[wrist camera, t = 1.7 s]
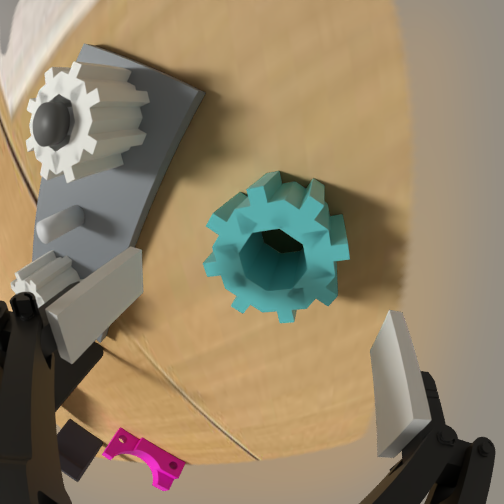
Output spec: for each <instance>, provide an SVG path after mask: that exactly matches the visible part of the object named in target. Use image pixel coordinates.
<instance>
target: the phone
mask: <svg viewBox="0 0 504 504" xmlns="http://www.w3.org/2000/svg"><path fill="white" fill-rule="evenodd" d="M53 353H54V357H55V365H54V397H55V412H56V411H57V410H58V408H59V407H60V406H61V405H62V403H63V402H64V401H65V400H66V399H67V397H68V396H69V395H70V394H71V393H72V391H73V390H74V389H75V388H76V387H77V386H78V384H79V383H80V382H81V381H82V380H83V378H84V377H85V376H86V375H87V374H88V373H89V371H90V370H91V369H92V368H93V367H94V366H95V364H96V363H97V362H98V361H99V360H100V359H101V357H102V356H103V348H102V347H101V346H100V345H99V344H97V343H95V342H93V343H92V344H91V345H90V346H89V347H88V348H87V349H86V350H85V351H84V353H83V354H82V355H81V356H80V357H79V358H78V359H77V360H76V361H75V362H74V363H73V364H71V363H69V362H68V361H66V360H64V359H63V358H61V357H60V354H59V351H58V348H57V349H56V350H55V351H54V352H53Z"/></svg>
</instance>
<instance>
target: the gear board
mask: <svg viewBox="0 0 504 504" xmlns="http://www.w3.org/2000/svg"><path fill="white" fill-rule="evenodd" d="M45 82H46V85H44V86H43V87H42V88H41V89H40V90H39V92H38V95H37V98H32V99H30V100H29V104H28V108H27V111H29V112H30V113H32V116H31V120H30V124H29V126H30V132H31V137H30V138H28V139H27V140H26V144H27V149H28V152H29V151H33V150H34V151H35V155H36V159H37V160H39V161H40V162H41V163H42V168H41V173H40V175H41V176H42V179H41V185H40V191H39V197H38V204H37V212H36V220H35V230H34V242H33V258H32V262H31V263H30V264H28V265H27V266H25V267H23V268H22V269H20V270H19V271H17V272H16V273H15V275H16V278H17V279H15V280H14V281H12V282H11V289H12V290H13V291H14V292H15V293H16V294H18V293H20V292H31V293H33V294H34V295H35V298H36V301H37V305H38V308H39V307H40V306H42V305H43V304H44V303H46V302H47V301H48V300H50V299H51V298H52V297H54V296H55V295H57V294H58V293H59V292H60V291H62V290H63V289H64V288H66V287H67V286H68V285H70V284H72V283H75V282H77V281H80V282H81V281H82V280H84V279H85V278H86V277H88V276H89V275H91V274H92V273H93V272H95V271H96V270H97V269H99V268H100V267H102V266H103V265H105V264H106V263H107V262H109V261H110V260H112V259H113V258H114V257H116V256H117V255H119V254H120V253H122V252H123V251H125V250H126V249H128V248H129V247H130V246H131V247H134V248H135V245H136V243H137V240H138V237H139V235H140V232H141V230H142V227H143V224H144V222H145V219H146V217H147V214H148V212H149V210H150V207H151V205H152V202H153V200H154V198H155V195H156V193H157V191H158V188H159V186H160V184H161V181H162V179H163V177H164V175H165V173H166V170H167V168H168V166H169V164H170V162H171V160H172V157H173V155H174V153H175V151H176V149H177V147H178V145H179V143H180V141H181V139H182V137H183V135H184V133H185V131H186V129H187V127H188V125H189V123H190V121H191V119H192V117H193V116H194V114H195V112H196V110H197V108H198V106H199V104H200V103H201V101H202V99H203V97H204V95H205V94H206V93H205V92H203V91H201V90H199V89H197V88H195V87H193V86H191V85H189V84H187V83H185V82H183V81H181V80H179V79H176V78H174V77H172V76H170V75H168V74H165V73H163V72H161V71H159V70H156V69H154V68H152V67H149V66H147V65H145V64H142V63H140V62H137V61H135V60H132V59H130V58H127V57H125V56H122V55H119V54H117V53H114V52H111V51H108V50H106V49H103V48H100V47H97V46H94V45H89V44H84V45H83V47H82V49H81V51H80V54H79V56H78V58H77V61H74V62H73V64H72V67H71V68H64V67H51V68H50V69H49V70H48V71H47V72H46V73H45ZM108 329H109V327H108V328H107V329H106V330H105V331H104V332H103V333H102V334H101V335H100V336H99V337H98V338H97V339H96V340H97V341H99V342H100V343H101V342H102V340H103V339H104V338H105V337H106V336H107V332H108Z"/></svg>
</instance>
